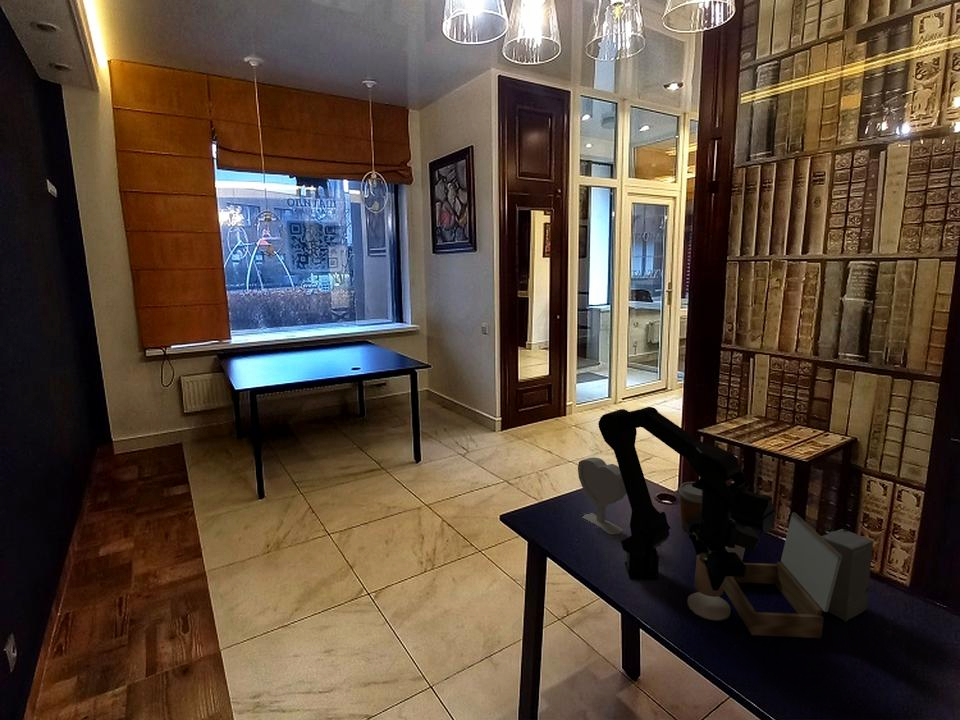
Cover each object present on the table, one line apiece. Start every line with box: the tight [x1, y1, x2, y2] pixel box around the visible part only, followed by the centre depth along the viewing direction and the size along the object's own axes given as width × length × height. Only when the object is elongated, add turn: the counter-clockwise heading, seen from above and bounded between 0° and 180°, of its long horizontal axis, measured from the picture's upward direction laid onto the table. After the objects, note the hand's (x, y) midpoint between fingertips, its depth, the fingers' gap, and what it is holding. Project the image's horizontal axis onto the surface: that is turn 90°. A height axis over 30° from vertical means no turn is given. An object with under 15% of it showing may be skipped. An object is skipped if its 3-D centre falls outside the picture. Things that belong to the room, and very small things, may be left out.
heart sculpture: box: [577, 457, 627, 535], centre depth 144 cm, size 16×5×18 cm, turn 34°
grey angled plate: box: [780, 512, 843, 613], centre depth 107 cm, size 12×17×1 cm
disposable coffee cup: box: [678, 481, 702, 535], centre depth 140 cm, size 10×10×12 cm
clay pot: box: [694, 551, 724, 597], centre depth 108 cm, size 6×6×9 cm
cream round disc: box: [686, 591, 732, 621], centre depth 110 cm, size 8×8×1 cm
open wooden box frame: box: [723, 561, 825, 639], centre depth 108 cm, size 16×18×12 cm
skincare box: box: [815, 528, 874, 622], centre depth 108 cm, size 8×7×16 cm
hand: (710, 581), depth 109 cm, fingers closed on clay pot, 6 cm apart
